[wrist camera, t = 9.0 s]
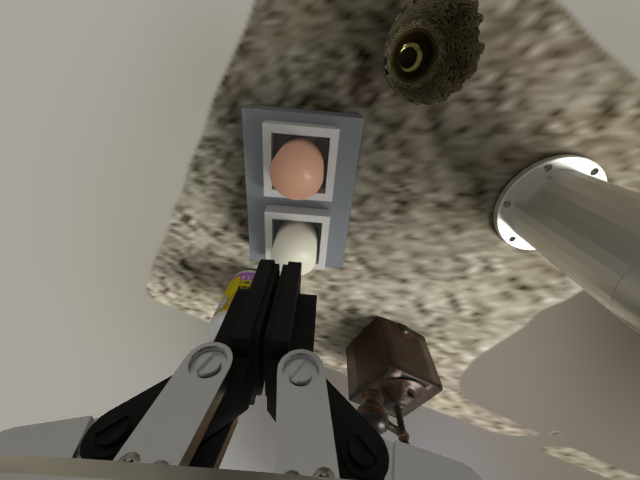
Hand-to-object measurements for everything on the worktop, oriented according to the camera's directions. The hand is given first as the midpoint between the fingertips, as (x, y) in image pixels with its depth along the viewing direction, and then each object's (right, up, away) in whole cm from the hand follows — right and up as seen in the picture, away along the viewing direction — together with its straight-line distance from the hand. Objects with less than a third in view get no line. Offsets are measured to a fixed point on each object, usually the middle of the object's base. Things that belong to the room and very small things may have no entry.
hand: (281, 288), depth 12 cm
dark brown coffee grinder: (+11, -15, +37) cm, 42 cm away
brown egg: (0, +10, +17) cm, 20 cm away
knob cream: (-1, +3, +22) cm, 22 cm away
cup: (+11, +20, +16) cm, 28 cm away
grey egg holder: (-1, +9, +23) cm, 25 cm away
